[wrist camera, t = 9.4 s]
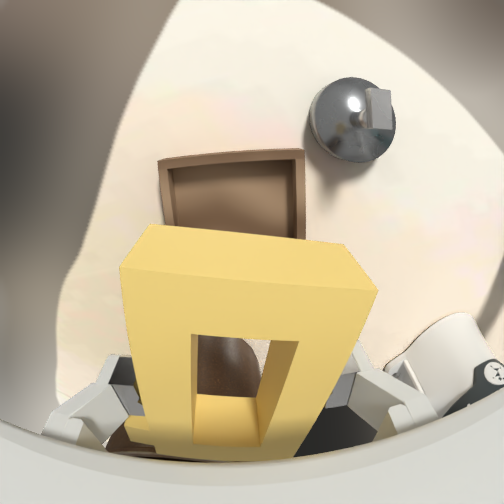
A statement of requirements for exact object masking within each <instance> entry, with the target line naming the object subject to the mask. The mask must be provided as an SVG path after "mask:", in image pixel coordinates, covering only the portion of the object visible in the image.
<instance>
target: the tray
mask: <svg viewBox="0 0 504 504" xmlns="http://www.w3.org/2000/svg"><path fill="white" fill-rule="evenodd" d="M157 162H158V171H159V180H160V188H161V196H162V203H163V210H164V217H165V223H166V225H168V226H178V227H189V228H199V229H209V230H219V231H229V232H238V233H248V234H257V235H266V236H275V237H284V238H293V239H302V240H306V197H305V151H304V150H303V149H299V148H291V149H264V150H246V151H231V152H219V153H208V154H199V155H189V156H181V157H173V158H165V159H162V160H159V161H157Z"/></svg>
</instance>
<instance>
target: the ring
mask: <svg viewBox="0 0 504 504" xmlns="http://www.w3.org/2000/svg"><path fill="white" fill-rule="evenodd" d="M119 270H120V280H121V289H122V298H123V306H124V313H125V320H126V327H127V333H128V339H129V345H130V350H131V356H132V361H133V366H134V371H135V375H136V380H137V384H138V389H139V393H140V397H141V401H142V405H143V409H144V413H145V416H133V415H129V417H128V418H127V419H126V420H125V424H124V427H125V429H126V431H127V434H128V436H129V438H130V441H133V442H138V443H143V444H148V445H154V447H155V450H156V453H157V454H162V455H169V456H177V457H185V458H194V459H205V460H220V461H268V460H278V459H287V458H292V457H293V456H294V454H295V453H296V451H297V450H298V448H299V447H300V445H301V443H302V442H303V440H304V439H305V437H306V435H307V434H308V432H309V430H310V429H311V427H312V426H313V424H314V422H315V421H316V419H317V417H318V415H319V414H320V412H321V410H322V408H323V406H324V405H325V403H326V401H327V400H328V398H329V396H330V394H331V392H332V390H333V389H334V387H335V385H336V383H337V381H338V379H339V377H340V375H341V373H342V371H343V369H344V367H345V365H346V363H347V361H348V359H349V357H350V355H351V353H352V351H353V349H354V346H355V344H356V342H357V340H358V338H359V335H360V333H361V331H362V329H363V326H364V324H365V322H366V319H367V317H368V315H369V312H370V310H371V307H372V305H373V303H374V300H375V298H376V295H377V292H378V289H377V288H376V286H375V285H374V284H373V282H372V281H371V280H370V278H369V277H368V276H367V274H366V273H365V272H364V270H363V269H362V268H361V266H360V265H359V264H358V262H357V261H356V260H355V259H354V257H353V256H352V255H351V253H350V252H349V251H348V250H347V248H346V247H345V246H344V244H336V243H328V242H319V241H311V240H302V239H293V238H284V237H275V236H266V235H257V234H248V233H238V232H229V231H219V230H209V229H199V228H189V227H178V226H168V225H157V224H149V226H148V227H147V229H146V230H145V231H144V233H143V234H142V235H141V237H140V238H139V240H138V241H137V242H136V244H135V245H134V247H133V248H132V249H131V251H130V252H129V254H128V255H127V256H126V258H125V259H124V261H123V262H122V264H121V265H120V267H119ZM198 335H207V336H218V337H230V338H244V339H260V340H271V342H270V346H269V350H268V354H267V358H266V362H265V366H264V370H263V373H262V377H261V381H260V385H259V389H258V393H257V396H256V398H250V397H229V396H215V395H203V394H197V357H198Z"/></svg>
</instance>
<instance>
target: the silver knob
mask: <svg viewBox="0 0 504 504" xmlns="http://www.w3.org/2000/svg"><path fill="white" fill-rule="evenodd" d="M309 121H310V127H311V130H312V133H313V135H314V137H315V139H316V141H317V142H318V143H319V145H320V146H321V147H322V148H323V149H324V150H325V151H326V152H328V153H329V154H331V155H333V156H335V157H337V158H340V159H344V160H347V161H351V162H358V163H360V162H368V161H371V160H374V159H376V158H378V157H379V156H381V155H382V154H383V153H384V152H385V151H386V150H387V149H388V148H389V146H390V144H391V143H392V140H393V138H394V134H395V129H396V120H395V114H394V110H393V107H392V105H391V90H385V89H379V88H378V87H377V86H376V85H374V84H373V83H371V82H369V81H367V80H364V79H361V78H353V77H349V78H343V79H339V80H337V81H335V82H333V83H331V84H329V85H327V86H325V87H324V88H322V89H321V90H320V91H319V92H318V93H317V94H316V96H315V97H314V99H313V101H312V104H311V107H310V113H309Z"/></svg>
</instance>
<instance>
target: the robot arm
mask: <svg viewBox="0 0 504 504" xmlns="http://www.w3.org/2000/svg"><path fill="white" fill-rule="evenodd" d="M343 405H348V407H349V408H351V409H352V410H353V411H354V412H355V413H356V414H358V415H359V416H360V417H361V418H362V419H364V420H365V421H366V422H367V423H368V424H370V425H371V426H372V427H373V428H375V429H376V430H377V431H378V432H377V434H376V436H375V437H374V439H373V441H372V442H370V443H367V444H363V445H359V446H355V447H350V448H346V449H341V450H337V451H332V452H326V453H321V454H315V455H309V456H302V457H296V458H287V459H278V460H268V461H254V462H232V463H200V462H178V461H165V460H155V459H146V458H138V457H131V456H125V455H119V454H113V453H109V452H108V451H107V450H106V449H105V448H104V447H103V445H102V444H103V443H104V442H105V441H106V440H107V439H108V438H109V437H110V436H111V435H112V434H113V433H114V432H115V431H116V429H117V428H118V427H119V426H120V425H121V424H122V423H123V422H124V421H125V420H126V419H127V418H128V417H129V415H133V416H145V413H144V409H143V405H142V401H141V397H140V393H139V389H138V384H137V380H136V375H135V371H134V366H133V361H132V356H131V355H116V354H110V355H109V356H108V357H107V359H106V361H105V363H104V366H103V368H102V370H101V372H100V374H99V376H98V379H97V381H96V383H91V384H90V385H89V386H87V387H86V388H84V389H83V390H81V391H80V392H79V393H77V394H76V395H74V396H73V397H72V398H70V399H69V400H67V401H66V402H65V403H63V404H62V405H60V406H59V407H57V408H56V409H55V410H53V411H52V412H51V414H50V416H49V418H48V420H47V422H46V425H45V427H44V429H43V431H42V433H41V435H40V434H37V433H34V432H32V431H29V430H26V429H23V428H21V427H18V426H16V425H13V424H11V423H9V422H6V421H4V420H1V419H0V504H504V365H503V364H502V363H500V362H499V361H498V360H497V358H496V356H495V355H494V353H493V352H492V350H491V348H490V347H489V345H488V344H487V342H486V340H485V339H484V337H483V335H482V333H481V331H480V330H479V328H478V326H477V323H476V321H475V319H474V317H473V316H472V315H470V314H468V313H463V312H461V313H455V314H452V315H449V316H447V317H445V318H443V319H441V320H439V321H438V322H436V323H435V324H433V325H432V326H431V327H429V328H428V329H427V330H426V331H425V332H423V333H422V334H421V335H420V336H419V337H418V338H417V339H416V340H415V341H414V343H413V344H412V345H411V346H410V347H409V348H408V349H407V350H406V351H405V352H404V353H402V354H401V355H399V356H398V357H396V358H395V359H393V360H392V361H391V362H389V363H388V364H387V365H386V367H385V371H382V370H380V369H379V368H376V369H374V367H373V365H372V363H371V361H370V359H369V357H368V355H367V354H366V352H365V350H364V348H363V346H362V344H361V342H360V341H359V340H357V342H356V344H355V346H354V349H353V351H352V353H351V355H350V357H349V359H348V361H347V363H346V365H345V367H344V369H343V371H342V373H341V375H340V377H339V379H338V381H337V383H336V385H335V387H334V389H333V390H332V392H331V394H330V396H329V398H328V400H327V401H326V403H325V408H331V407H337V406H343Z"/></svg>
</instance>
